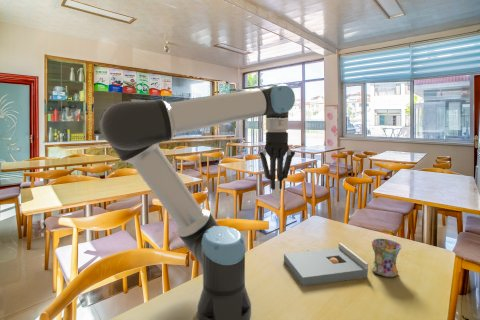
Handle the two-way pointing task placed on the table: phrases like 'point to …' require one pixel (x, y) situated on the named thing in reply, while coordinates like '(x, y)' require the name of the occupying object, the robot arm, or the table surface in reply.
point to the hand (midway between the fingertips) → (275, 198)
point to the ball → (334, 260)
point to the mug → (385, 257)
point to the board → (326, 265)
